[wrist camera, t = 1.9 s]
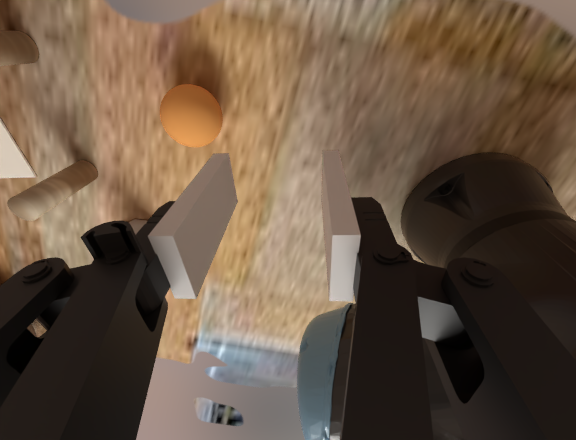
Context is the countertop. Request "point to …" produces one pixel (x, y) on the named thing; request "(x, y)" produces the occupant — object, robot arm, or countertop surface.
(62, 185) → the post
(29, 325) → the cooking pot
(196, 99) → the ball
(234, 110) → the countertop surface
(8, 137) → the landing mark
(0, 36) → the post
